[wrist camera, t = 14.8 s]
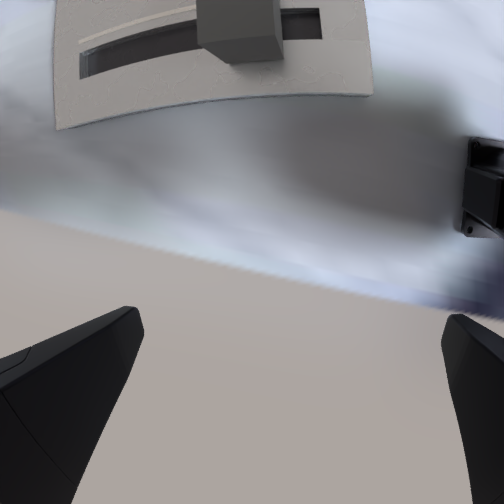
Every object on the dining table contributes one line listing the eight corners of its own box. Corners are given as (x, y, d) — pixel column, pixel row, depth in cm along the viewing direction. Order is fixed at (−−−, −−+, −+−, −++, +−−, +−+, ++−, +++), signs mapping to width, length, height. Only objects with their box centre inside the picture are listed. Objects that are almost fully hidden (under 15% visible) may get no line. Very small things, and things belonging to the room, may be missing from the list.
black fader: (280, -4, 13) (267, -52, 8) (285, 63, 15) (275, 35, 10) (228, 2, 14) (195, -41, 9) (231, 67, 16) (197, 44, 10)
